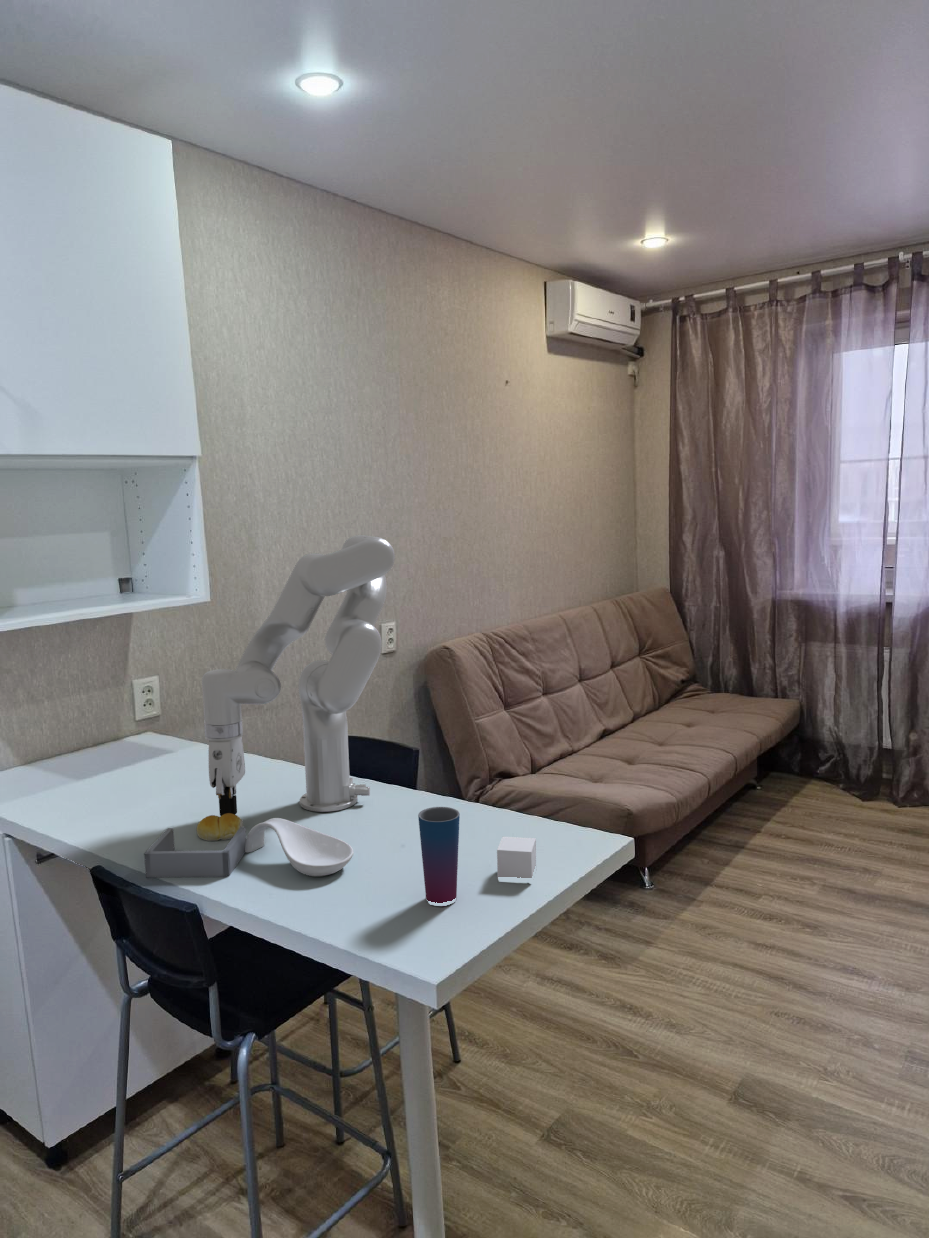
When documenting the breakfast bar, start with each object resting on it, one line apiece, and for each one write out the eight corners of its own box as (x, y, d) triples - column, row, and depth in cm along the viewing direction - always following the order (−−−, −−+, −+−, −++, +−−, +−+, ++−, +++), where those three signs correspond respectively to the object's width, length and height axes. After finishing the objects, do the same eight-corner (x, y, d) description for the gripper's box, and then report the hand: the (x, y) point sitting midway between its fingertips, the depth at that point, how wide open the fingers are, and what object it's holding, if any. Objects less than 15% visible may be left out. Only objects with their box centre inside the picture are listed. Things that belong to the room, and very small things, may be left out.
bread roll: (200, 828, 180) (199, 809, 180) (244, 825, 182) (243, 807, 181) (193, 844, 172) (192, 824, 172) (240, 841, 174) (238, 821, 173)
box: (246, 849, 169) (245, 826, 168) (229, 876, 157) (227, 852, 156) (169, 850, 169) (167, 827, 168) (146, 877, 157) (144, 853, 157)
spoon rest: (366, 865, 161) (365, 828, 160) (323, 890, 151) (321, 851, 150) (274, 839, 174) (272, 805, 173) (228, 861, 164) (226, 824, 163)
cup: (461, 890, 150) (459, 805, 147) (462, 908, 143) (460, 821, 141) (421, 891, 149) (418, 807, 147) (420, 910, 143) (417, 822, 140)
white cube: (536, 870, 157) (536, 838, 156) (531, 885, 151) (531, 851, 150) (503, 867, 158) (502, 836, 157) (497, 882, 152) (497, 849, 152)
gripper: (230, 739, 173) (235, 828, 176) (251, 720, 188) (256, 802, 191) (193, 739, 173) (198, 828, 176) (217, 720, 188) (221, 802, 191)
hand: (228, 814), depth 183 cm, fingers closed
